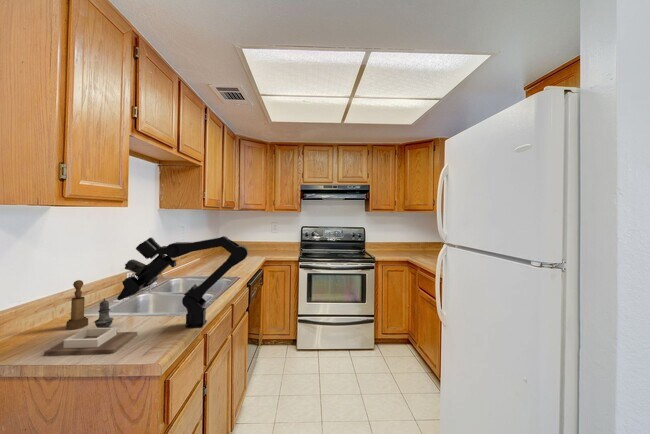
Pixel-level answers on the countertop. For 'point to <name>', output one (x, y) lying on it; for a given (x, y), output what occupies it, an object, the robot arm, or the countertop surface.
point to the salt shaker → (104, 316)
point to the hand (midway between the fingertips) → (124, 296)
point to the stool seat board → (92, 342)
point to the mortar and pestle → (77, 309)
